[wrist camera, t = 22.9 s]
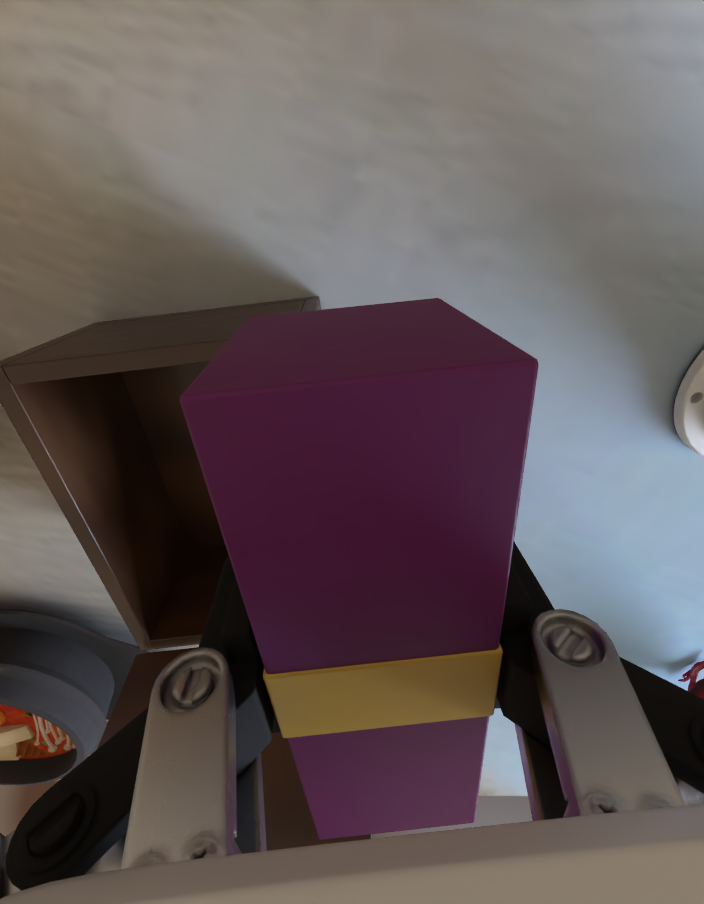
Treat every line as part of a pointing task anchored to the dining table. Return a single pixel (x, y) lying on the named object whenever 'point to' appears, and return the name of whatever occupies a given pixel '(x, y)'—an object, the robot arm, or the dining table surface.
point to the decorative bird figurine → (697, 688)
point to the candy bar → (371, 542)
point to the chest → (132, 456)
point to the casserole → (54, 694)
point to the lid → (280, 777)
